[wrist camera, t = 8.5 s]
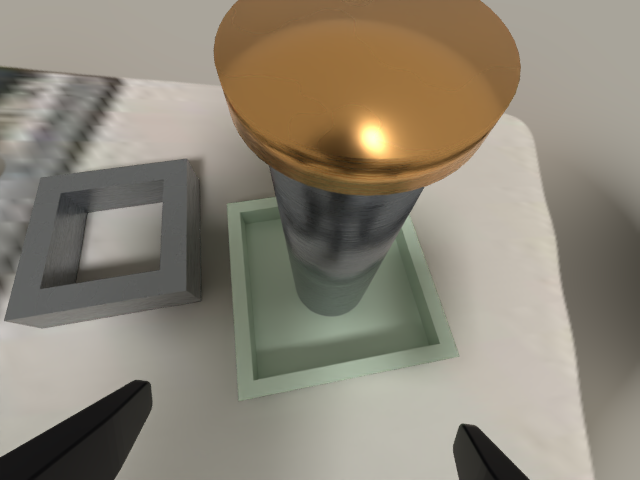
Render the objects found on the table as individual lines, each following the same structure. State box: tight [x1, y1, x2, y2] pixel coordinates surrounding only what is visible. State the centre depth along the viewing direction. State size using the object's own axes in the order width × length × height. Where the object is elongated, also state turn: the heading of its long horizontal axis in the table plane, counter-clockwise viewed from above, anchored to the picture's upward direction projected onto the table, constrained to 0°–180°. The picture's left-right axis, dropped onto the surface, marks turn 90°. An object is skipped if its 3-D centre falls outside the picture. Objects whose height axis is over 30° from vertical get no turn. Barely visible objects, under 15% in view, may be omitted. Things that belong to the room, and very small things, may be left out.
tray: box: [227, 197, 459, 401], centre depth 19 cm, size 12×12×2 cm
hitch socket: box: [4, 159, 201, 328], centre depth 20 cm, size 10×10×2 cm
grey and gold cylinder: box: [214, 0, 521, 316], centre depth 12 cm, size 6×6×15 cm
